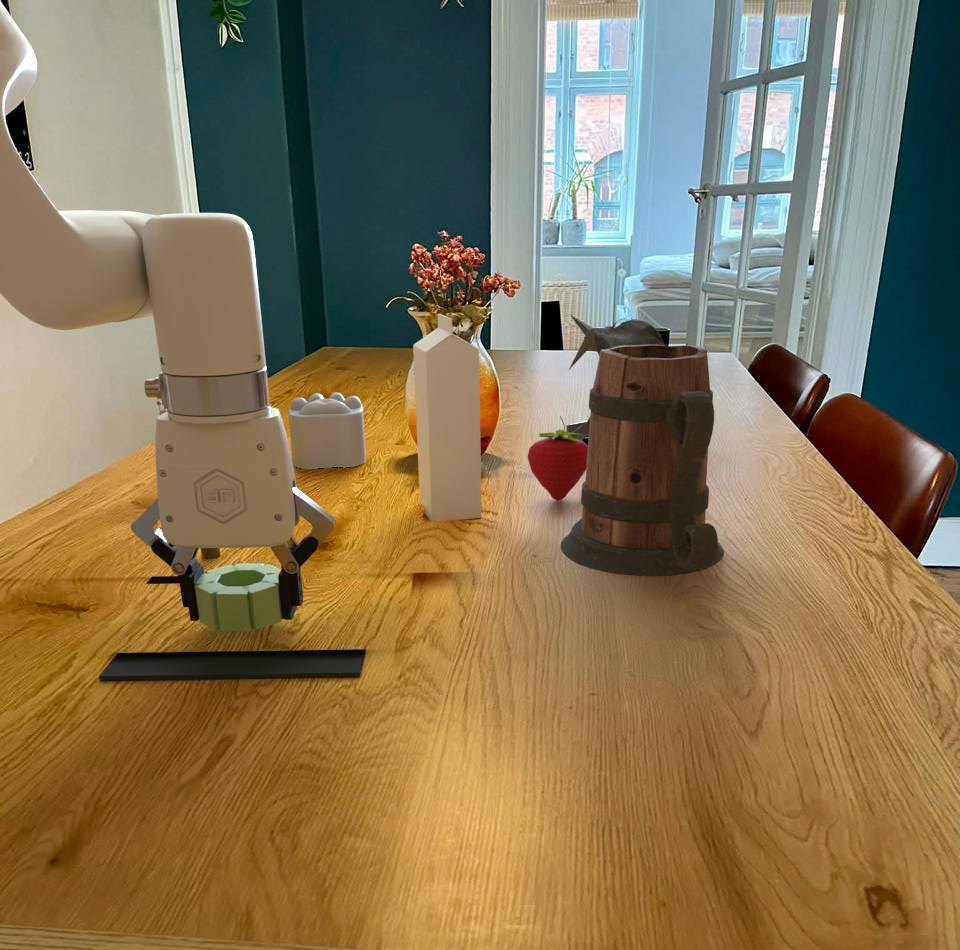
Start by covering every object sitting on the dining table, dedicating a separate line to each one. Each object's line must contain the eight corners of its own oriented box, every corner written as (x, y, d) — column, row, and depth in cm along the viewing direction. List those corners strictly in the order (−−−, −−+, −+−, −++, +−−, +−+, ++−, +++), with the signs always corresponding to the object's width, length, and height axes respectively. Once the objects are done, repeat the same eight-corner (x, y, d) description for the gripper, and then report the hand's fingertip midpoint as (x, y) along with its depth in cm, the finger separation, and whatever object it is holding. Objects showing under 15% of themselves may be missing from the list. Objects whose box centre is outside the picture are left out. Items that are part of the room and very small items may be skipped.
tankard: (541, 528, 105) (544, 341, 97) (684, 517, 108) (698, 334, 100) (612, 608, 84) (624, 378, 76) (786, 591, 87) (816, 368, 79)
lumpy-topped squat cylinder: (290, 470, 130) (284, 406, 126) (296, 448, 141) (290, 389, 138) (366, 467, 131) (362, 403, 127) (365, 445, 142) (362, 387, 139)
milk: (431, 524, 107) (422, 320, 98) (419, 508, 113) (409, 314, 103) (483, 518, 109) (479, 317, 99) (468, 503, 114) (463, 311, 105)
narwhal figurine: (656, 455, 135) (665, 323, 127) (552, 448, 139) (555, 320, 132) (671, 433, 147) (680, 312, 140) (575, 427, 152) (579, 309, 144)
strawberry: (523, 494, 117) (523, 413, 113) (582, 491, 118) (584, 411, 114) (532, 508, 112) (532, 423, 108) (593, 504, 113) (597, 421, 109)
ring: (191, 632, 75) (185, 594, 73) (213, 598, 81) (208, 563, 80) (279, 631, 75) (275, 593, 73) (294, 597, 81) (291, 562, 80)
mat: (99, 680, 73) (98, 676, 72) (155, 609, 85) (154, 605, 85) (359, 677, 73) (359, 672, 72) (376, 606, 85) (376, 602, 85)
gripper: (82, 405, 67) (124, 634, 74) (327, 402, 67) (344, 631, 74) (118, 387, 74) (154, 598, 81) (340, 384, 74) (355, 595, 81)
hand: (245, 612), depth 78 cm, fingers closed on ring, 6 cm apart
